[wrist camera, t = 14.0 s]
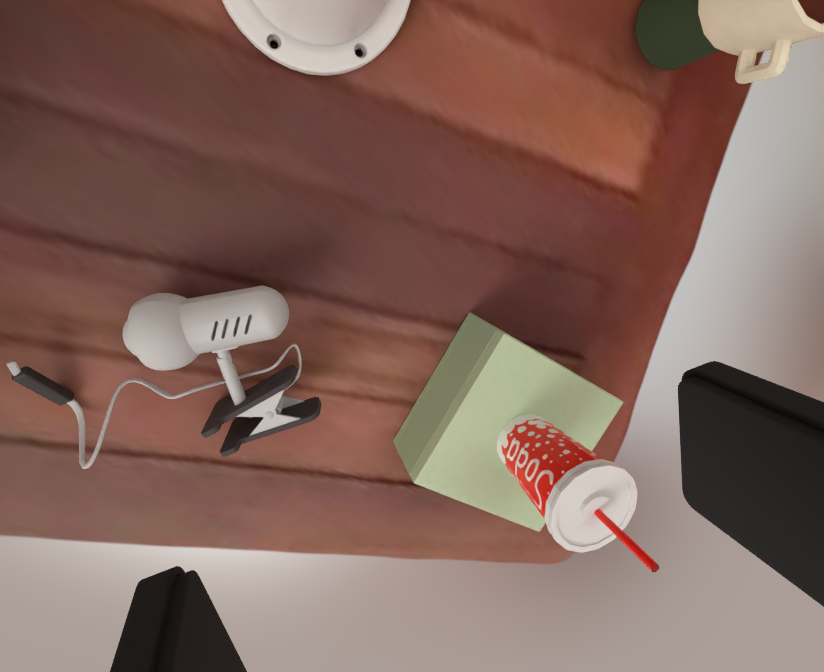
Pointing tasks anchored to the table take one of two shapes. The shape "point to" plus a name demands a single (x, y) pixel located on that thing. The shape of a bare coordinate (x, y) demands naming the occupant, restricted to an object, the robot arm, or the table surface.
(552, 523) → the beverage cup
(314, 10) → the robot arm
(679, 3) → the character mug
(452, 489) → the stand
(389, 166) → the table surface
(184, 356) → the clip-on lamp
